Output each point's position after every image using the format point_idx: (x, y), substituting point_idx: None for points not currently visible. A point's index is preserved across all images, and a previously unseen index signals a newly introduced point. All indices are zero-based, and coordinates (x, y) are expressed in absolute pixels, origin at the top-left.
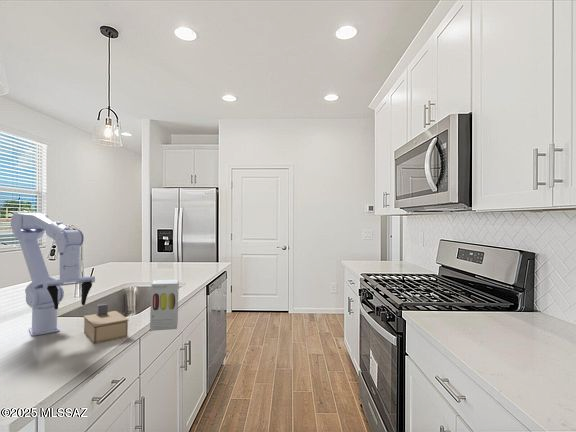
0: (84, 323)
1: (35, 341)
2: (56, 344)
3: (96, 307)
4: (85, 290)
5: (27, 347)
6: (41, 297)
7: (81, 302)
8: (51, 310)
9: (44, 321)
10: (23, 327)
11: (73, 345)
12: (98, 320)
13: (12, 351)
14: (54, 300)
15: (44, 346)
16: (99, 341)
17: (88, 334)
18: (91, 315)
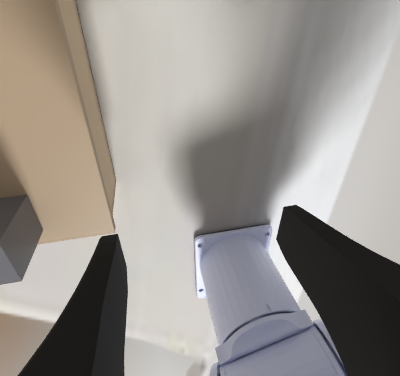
0: (112, 202)
1: (274, 169)
2: (228, 83)
3: (27, 262)
4: (72, 371)
5: (310, 114)
6: (322, 364)
7: (126, 280)
8: (245, 305)
9: (253, 263)
10: None
11: (169, 6)
12: (5, 67)
13: (354, 97)
14: (357, 243)
15: (268, 86)
16: None
17: (95, 102)
18: (71, 223)
